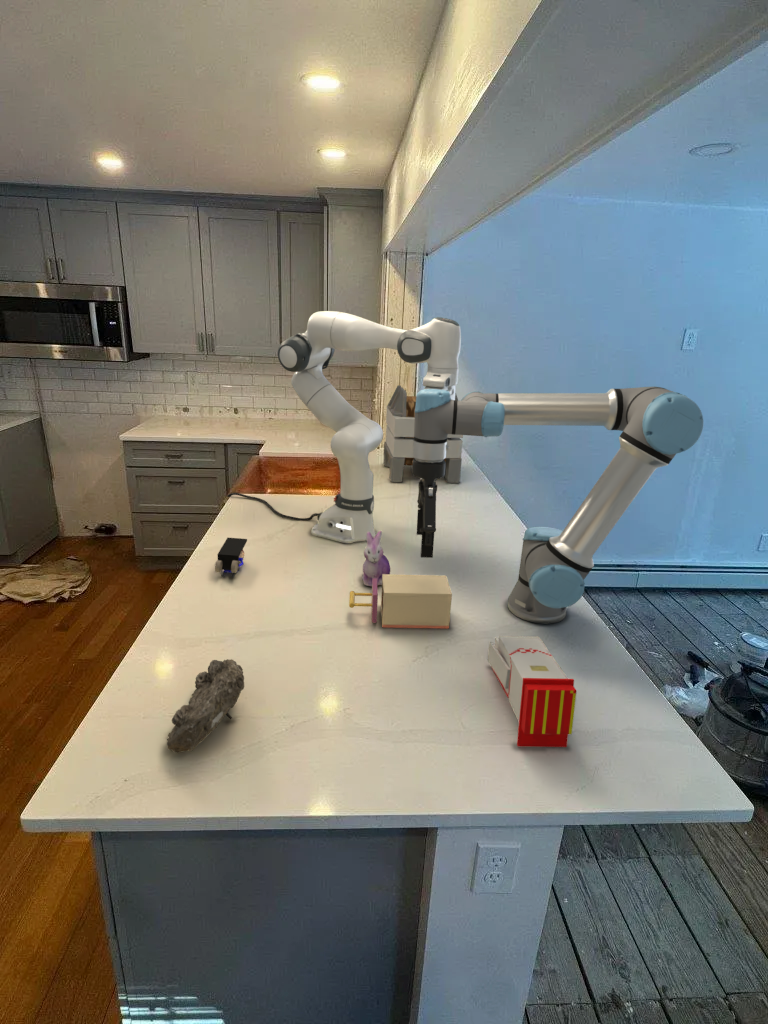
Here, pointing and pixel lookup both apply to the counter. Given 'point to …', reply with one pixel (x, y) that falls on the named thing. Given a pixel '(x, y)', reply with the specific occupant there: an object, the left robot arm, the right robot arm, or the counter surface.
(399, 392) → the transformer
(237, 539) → the figurine character
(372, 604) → the drawer
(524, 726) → the toy
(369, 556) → the figurine
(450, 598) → the beige drawer cabinet
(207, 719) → the fossil
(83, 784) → the counter surface
